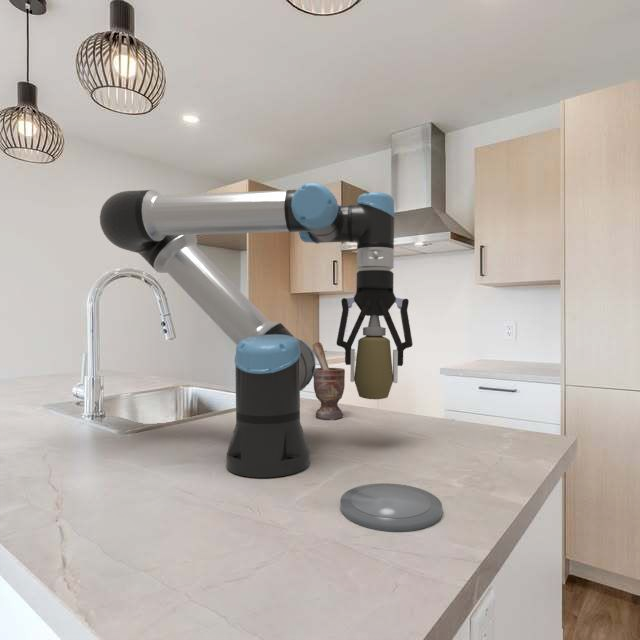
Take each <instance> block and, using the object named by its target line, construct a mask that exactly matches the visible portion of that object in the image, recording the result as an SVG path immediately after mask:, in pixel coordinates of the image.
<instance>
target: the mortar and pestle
mask: <svg viewBox="0 0 640 640" xmlns="http://www.w3.org/2000/svg"><path fill="white" fill-rule="evenodd" d="M312 351H313V353H314V356H315V358H316V359H317V362H318V363H319V366H320V367H315V372H314V375H313V377H312V379H313V391H314V395H315V397H316V399H317V400H318V401H319V402H320V407H319V408H318V409H317V410H316V412H315V418H317V419H321V420H328V419H329V420H330V421H335V420H337V419H341V418H343V417H344V415H343V412H342V410H341V408H340V407H339V406H338V403H339V401H340V400H341V399H342V398H343V395H344V391H345V387H346V386H345V385H346V384H345V377H346V376H345V373H346V370H345V368H341V367H329V365H328V362H327V358H326V354H325V349H324V347H323V344H322V343H321V342H315V343H313V344H312ZM334 419H335V420H334Z"/></svg>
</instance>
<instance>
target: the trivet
mask: <svg viewBox="0 0 640 640" xmlns="http://www.w3.org/2000/svg"><path fill="white" fill-rule="evenodd" d="M339 501H340V511H341V512H340V513H341V514H342V515H343V516H344V517H345V518H346V519H347V520H349V522H352V523H354V524H356V525H359V526H361V527H364V528H367V529H372V530H376V531H383V532H393V533H395V532H397V533H398V532H399V533H401V532H413V531H419V530H423V529H428V528H429V527H432V526H433V525H435V524H437V523H438V522H440V520H441V518H442V517H443V504H442V502H441V500H440V499H439V498H438V496H436V495H435V494H433V493H431V492H430V491H427V490H425V489H422V488H419V487H415V486H411V485H406V484H401V483H389V482H388V483H387V482H386V483H371V484H364V485H359V486H356V487H352V488H350V489H348V490H347V491H345V492H344V493H343V494H342V495H341V497H340V500H339Z"/></svg>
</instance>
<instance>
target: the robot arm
mask: <svg viewBox="0 0 640 640" xmlns="http://www.w3.org/2000/svg"><path fill="white" fill-rule="evenodd" d="M394 202H395V200H394V199H393V196H391V195H390V194H388V193H386V192H381V191H371V192H364V193H362V194H359V196H358V197H357V202H356V204H349V205H345V204H344V205H342V204H341V205H340V204H338V199H337V198H336V197H335V194H334V193H332V191H331V190H330V189H329V188H328V187H327V186H326V185H324V184H321V183H319V182H306V183H305V184H303V185H301V186H300V187H298V188H297V189H287V190H286V189H285V190H282V189H281V190H260V191H259V190H258V191H238V192H237V191H234V192H213V193H212V192H211V193H210V192H209V193H185V194H182V193H180V194H162V193H160V192H159V191H158V190H155V189H145V190H143V189H142V190H126V191H121V192H117V193H115V194H113V195H111V196H110V197H108V198H107V199H106V201H105V202H104V203H103V204H102V207H101V210H100V213H99V225H100V228H101V230H102V232H103V234H104V236H105V237H106V238H107V240H108V241H109V242H110V243H111V244H113V245H114V246H116V247H118V248H119V249H123V250H125V251H129V252H133V253H137V254H139V255H140V256H141V257H142V258H143V259H144V260H145V261H146V262H147V263H148V265H150V267H152V269H154V271H156V272H157V273H160V274H166V273H167V274H168V275H169V276H170V277H171V278H172V279H173V281H175V283H176V284H178V286H180V288H181V289H182V290H183V291H184V292H185V293H186V294H187V295H188V296H189V297H190V298H191V299H192V300H193V301H194V302H195V304H197V305H198V306H199V307H200V308H201V309H202V311H204V312H205V314H206V315H207V316H208V317H209V318H210V319H211V320H212V321H213V322H214V324H215V325H217V326H218V328H220V329H221V331H222V332H224V334H226V336H227V337H229V339H230V341H232V342H233V343H234V344H235V345H236V348H235V356H234V364H235V425H234V430H233V433H232V434H231V435H232V436H231V439H230V441H229V445H228V448H227V451H226V461H225V462H226V464H225V465H226V469H227V470H228V471H229V472H231V473H233V474H235V475H238V476H242V477H246V478H247V477H248V478H277V477H284V476H285V477H286V476H289V475H290V476H291V475H293V474H297V473H300V472H302V471H304V470H306V469H307V468H308V467H309V466H310V463H311V462H310V461H311V460H310V459H311V457H310V454H311V453H310V448H309V445H308V441H307V439H306V435H305V433H304V430H303V426H302V424H301V391H303V390H304V389H305V388H306V387H307V386H308V385H310V382H311V381H312V380H313V375H314V372H315V368H316V356H315V353H314V351H313V349H311V347H310V346H309V345H308V343H306V342H305V341H303V340H301V339H299V338H297V337H295V335H293V334H292V332H290V331H289V330H288V328H287V327H285V325H283V324H282V323H281V322H279V321H277V322H275V321H270V320H269V319H268V318H267V317H266V316H265V315H264V314H263V313H262V312H261V311H260V310H259V309H258V308H257V307H256V306H255V305H254V304H253V302H252V301H250V299H248V297H247V296H246V295H244V294H243V293H242V292H241V291H240V289H238V287H236V285H235V284H233V282H232V281H230V279H229V278H228V277H227V276H226V275H225V274H224V273H223V271H221V270H220V269H219V268H218V267H217V266H216V265H215V263H213V261H211V260H210V259H209V258H208V257H207V256H206V255H205V253H203V252H202V250H201V249H200V248H198V238H197V236H196V235H222V234H223V235H226V234H227V235H228V234H253V233H255V234H256V233H257V234H259V233H287V232H289V233H291V232H292V233H294V232H295V233H298V234H299V238H300V240H301V241H302V242H304V243H310V244H311V243H313V244H321V243H324V244H325V243H356V244H357V245H356V269H357V270H358V271H357V272H356V290H355V291H356V292H355V294H354V296H353V297H344V298H342V299H341V301H340V302H341V308H342V310H341V317H340V322H339V328H338V333H337V339H336V345H337V346H338V347H340V348H343V349H344V363H345V365H346V366H350V383H353V382H354V383H355V381H354V376H355V367H356V358H355V357H356V355H355V354H356V352H355V348H352V346H353V343H354V342H355V340H356V337H357V335H358V333H359V331H360V329H361V326H362V324H363V322H364V320H365V317H366V316H367V317H370V316H372V315H377V316H379V317H383V319H384V321H385V323H386V325H387V328H388V330H389V333H390V335H391V337H392V340H393V342H394V345H395V346H396V349H393V350H392V371H393V383H392V384H398V371H399V370H398V369H399V367H402V366H403V365H404V351H405V350H406V349H408V348H411V347H413V338H412V333H411V331H412V330H411V325H410V320H409V314H408V307H409V301H410V300H409V299H408V298H400V297H396V295H395V293H394V272H393V271H392V269H394V265H395V264H394V262H395V261H394V258H395V257H394V256H395V254H394V252H395V249H394V248H395V247H394V245H395V243H394V242H395V203H394ZM354 303H355V304H356V306H357V307H358V309H359V310H360V312H359V315H358V317H357V319H356V321H355V323H354V326H353V328H352V330H351V332H350V334H349V337H348V339H347V341H345V340H344V338H345V332H346V328H347V323H348V317H349V313H350V312H349V311H350V309H352V307H353V304H354ZM394 304H396V307H397V308H398V309H399V310H400V311H399V313H400V318H401V325H402V330H403V332H402V333H403V337H404V342H402V340H401V338H400V335H399V333H398V330H397V329H396V326H395V323H394V321H393V319H392V315H391V314H390V309H391V308H392V306H393V305H394Z"/></svg>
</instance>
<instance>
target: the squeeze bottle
mask: <svg viewBox="0 0 640 640" xmlns="http://www.w3.org/2000/svg"><path fill="white" fill-rule="evenodd" d="M367 325H368V326H365V327H362V335H363V337H361V338H359V339H358V341H357V349H356V358H355V368H354V383H355V384H354V385H355V387H356V391H357V393H358V397H360V398H362V399H367V400H382V399H383V400H384V399H388V398H389V394H390V391H391V389H392V386H393V384H394V383H393V359H392V351H391V341H390V339H389V338H387V337H385V336H386V332H387V331H386V330H387V328H386V327H383V326H381V321H380V316H377V315H372V316H369V321H368V324H367Z"/></svg>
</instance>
